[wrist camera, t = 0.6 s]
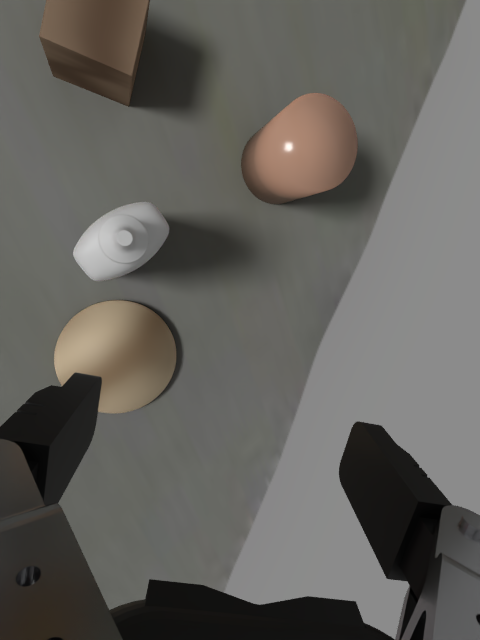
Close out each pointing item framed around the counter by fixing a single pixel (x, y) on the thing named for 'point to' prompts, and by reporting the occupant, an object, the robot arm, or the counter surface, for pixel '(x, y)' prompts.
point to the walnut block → (95, 43)
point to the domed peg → (301, 150)
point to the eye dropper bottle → (121, 241)
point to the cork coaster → (118, 353)
